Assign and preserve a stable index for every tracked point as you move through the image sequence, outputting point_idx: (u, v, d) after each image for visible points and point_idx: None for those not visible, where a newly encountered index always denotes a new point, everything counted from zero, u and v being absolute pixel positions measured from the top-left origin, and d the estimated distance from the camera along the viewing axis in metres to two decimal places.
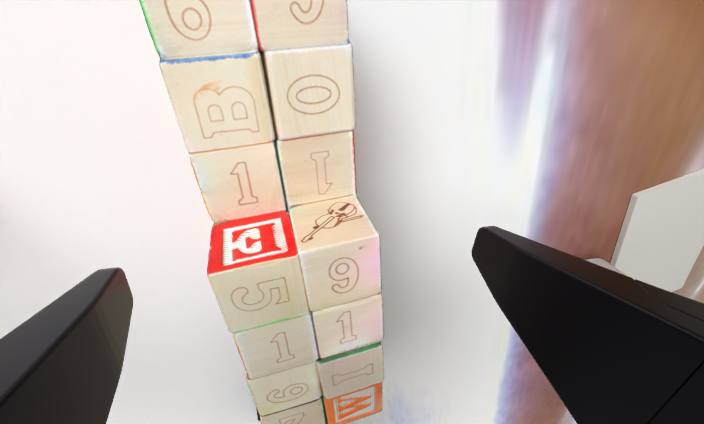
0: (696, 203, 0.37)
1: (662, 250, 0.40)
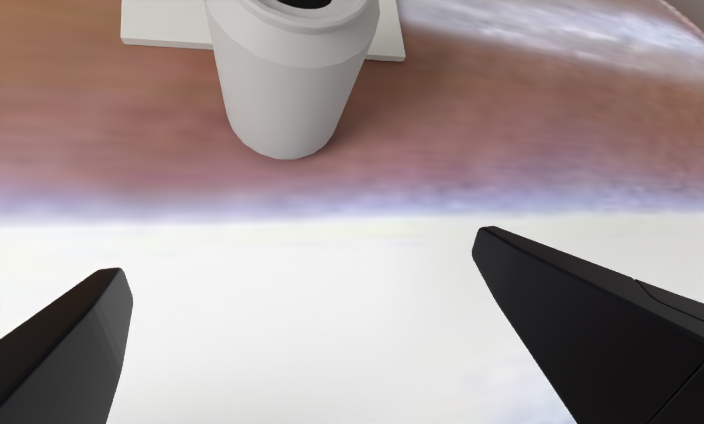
0: None
1: None
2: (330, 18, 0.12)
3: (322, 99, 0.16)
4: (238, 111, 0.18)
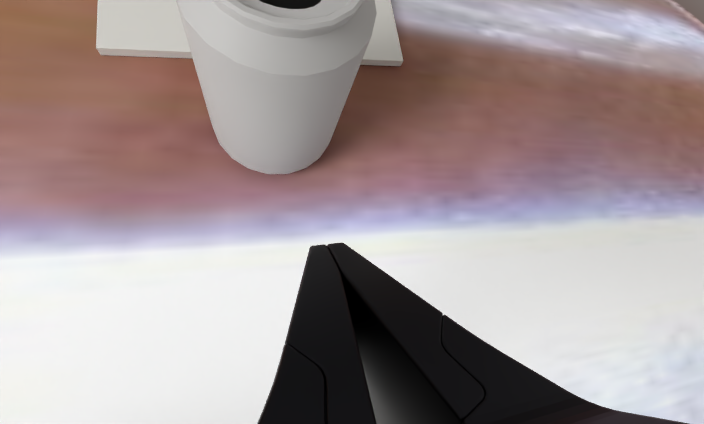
0: None
1: None
2: (320, 18, 0.11)
3: (315, 109, 0.15)
4: (223, 125, 0.17)
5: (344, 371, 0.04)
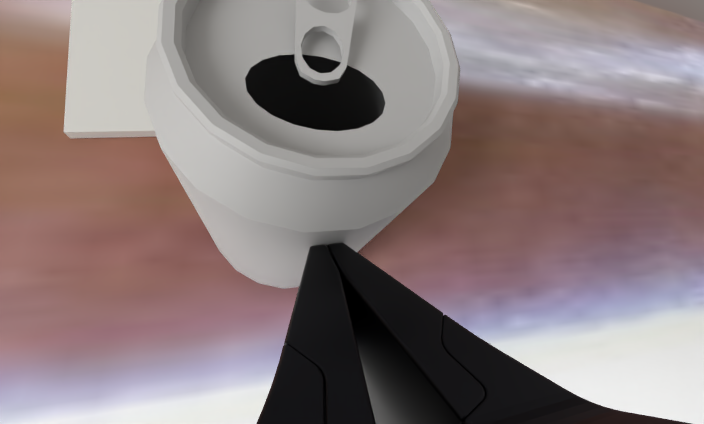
0: None
1: None
2: (391, 151, 0.06)
3: (359, 244, 0.10)
4: (224, 248, 0.12)
5: (344, 371, 0.04)
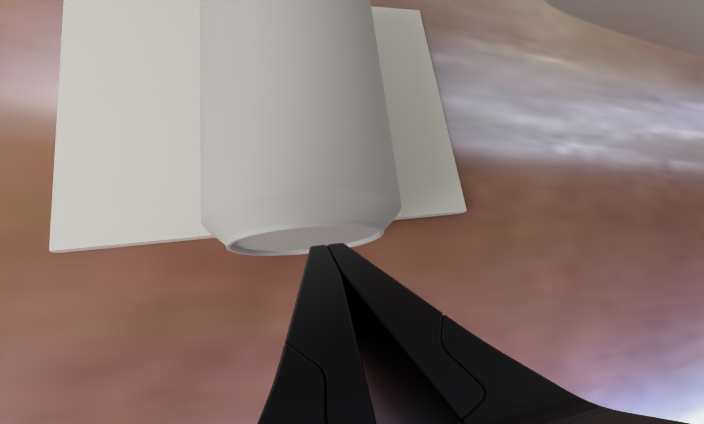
0: (157, 64, 0.17)
1: None
2: None
3: (340, 8, 0.12)
4: (222, 97, 0.11)
5: (344, 371, 0.04)
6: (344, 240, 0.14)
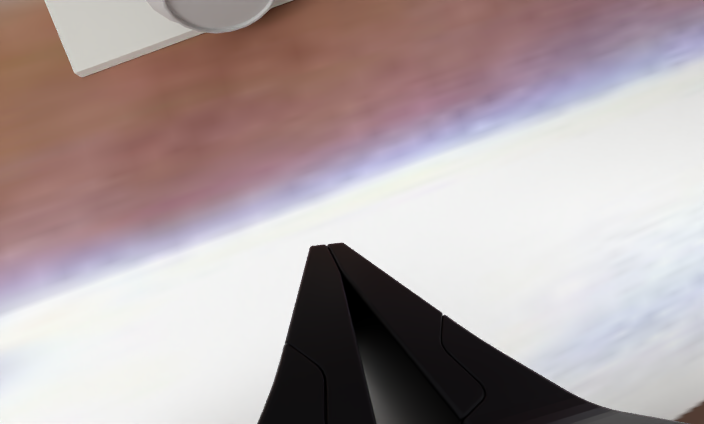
0: None
1: None
2: None
3: None
4: None
5: (344, 371, 0.04)
6: None
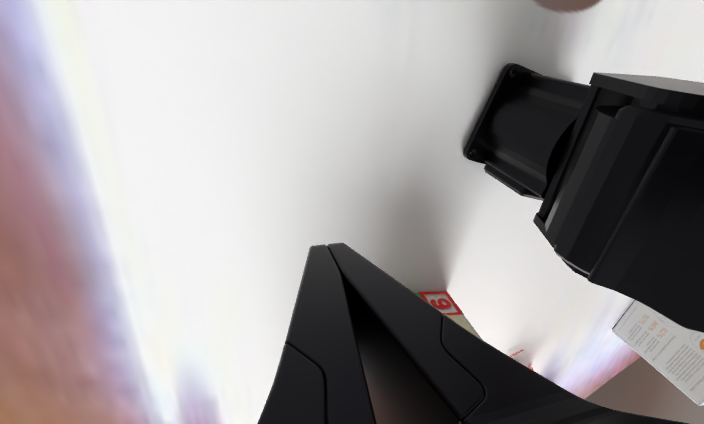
0: None
1: None
2: None
3: None
4: None
5: (344, 371, 0.04)
6: None
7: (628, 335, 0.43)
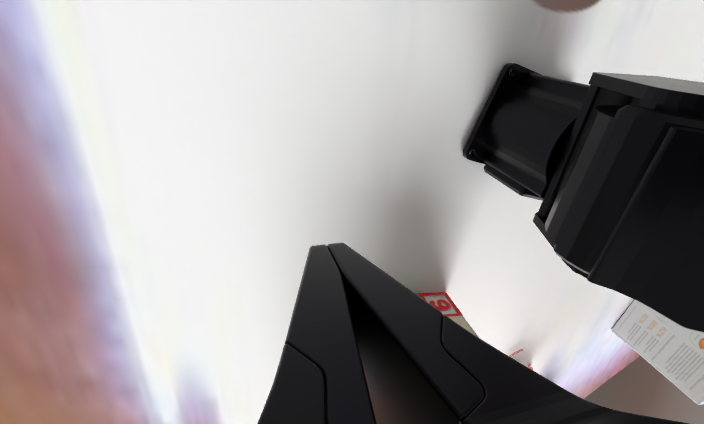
0: None
1: None
2: None
3: None
4: None
5: (344, 371, 0.04)
6: None
7: (627, 334, 0.43)
